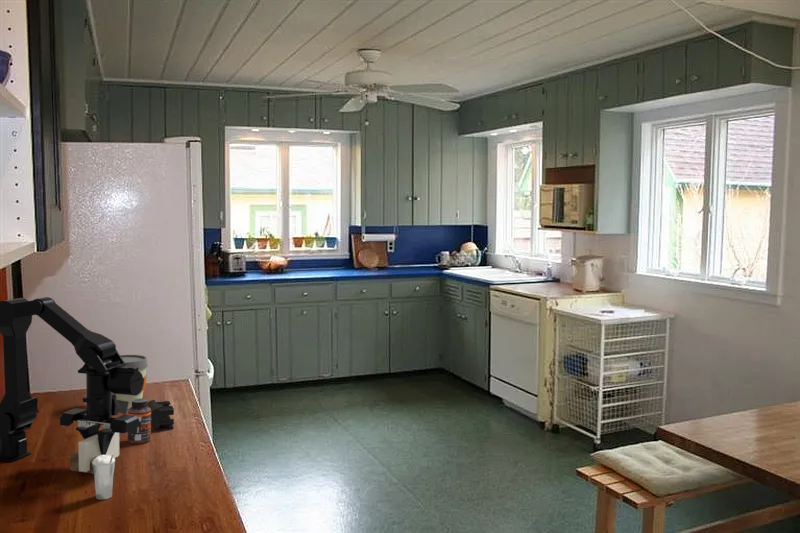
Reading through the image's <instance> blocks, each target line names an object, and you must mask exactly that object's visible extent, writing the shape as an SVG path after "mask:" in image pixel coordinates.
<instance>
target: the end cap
mask: <svg viewBox="0 0 800 533" xmlns="http://www.w3.org/2000/svg"><path fill="white" fill-rule="evenodd" d="M147 403H148V404H147V405H148V407H150V409H151V429H153V430H155V431H157V432H159V431H160V432H163V431H171V430H172V431H173V430H174V424H175V419H174V418H171V417H170V416H174V415H175V408H174V407H173V405H172V404H171V402H170V400H164V401H156V400H155V399H151V400H149V401H147Z"/></svg>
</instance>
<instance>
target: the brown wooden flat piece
mask: <svg viewBox="0 0 800 533" xmlns="http://www.w3.org/2000/svg"><path fill="white" fill-rule="evenodd" d="M96 457H98V456H96ZM96 457H94V459H95V458H96ZM69 460H70V467H69V468H70V471H72V472H80V473H82V472H81V471H79V452H72V453H70V458H69ZM84 473H87V474H92V475H94V472H93V464H92V463H90V470H89V471H87V472H84Z"/></svg>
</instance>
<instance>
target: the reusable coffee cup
mask: <svg viewBox="0 0 800 533" xmlns="http://www.w3.org/2000/svg"><path fill="white" fill-rule="evenodd" d="M120 356H121V357H122V359H123V360H124V362H125V364H126V365H125V366H129V367H131V366H138V367H139V372H141V374H142V376H143V378H144V385H143V388H142V391H141V392H140V393H139V394H138V395H136V396H134V395H123V394H116V399H117V400H122V401H128V402H129V403H128V408H127V410H129V409H130V408H131V407H132V400H134V399H140V398H142V399H143V396H144V395H143V394H144V391H145V390H146V384H147V376H148V375H147V374H146V373H147V372H146V371H147V368H148V358H147V356H144V355H140V354H120ZM108 363H111V361H109V362H106V363H105V364H108ZM112 394H114V393H112Z"/></svg>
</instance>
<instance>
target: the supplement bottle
mask: <svg viewBox="0 0 800 533" xmlns="http://www.w3.org/2000/svg"><path fill="white" fill-rule="evenodd" d="M147 404H148V399H147V398H143V397H142V398H140V399H134V400H132V407H131V408H130V409H127V415H134V416H137V417H138V418H139V427H138V428H135V429H133V430H131V431H129V432H127V442H128V443H130V444H133V445H134V444H135V445H140V444H145V443H147V442H150V441H151V439H152V438H151V437H152V427H151V409H150V407H148V405H147Z"/></svg>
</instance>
